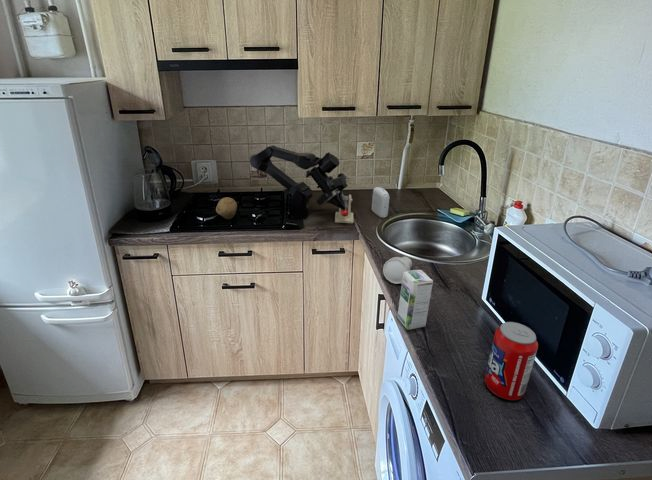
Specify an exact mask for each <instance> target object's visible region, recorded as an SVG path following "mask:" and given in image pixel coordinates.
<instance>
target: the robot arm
mask: <svg viewBox="0 0 652 480" xmlns="http://www.w3.org/2000/svg"><path fill="white" fill-rule="evenodd" d="M272 157H273V158H277V159H280V160H284V161H287V162H289V163H293V164H294V165H295V166H296V167H298V168H300V169H302V170H305V171H306V174H305V178H309V177H311V178H312V180H313V181H314V182H315V184H317V185H316V188H317V189H320V190H321V192H323V193H322V194H321V195H320V196H318V197H317V198H316V203H317V204H318V205H319V206H321V205H323V204H324V203H325V202H326V203H327V204H328V203H329V204H331V205H333V206H335V207H337V208H338V209H339V208H341V210H345V209H346V210H347V206H346V207H345V204H344V201H343V192H344V189H346V188H347V187H348V186H349V185H348V184H347V178H348V177H347V176H346V174H344V172H340V173H338V174H337V177H334V178H333V176H331V175H330V176H329V174H331V173H332V172H333V171H334V170H335V169H336V168H337V167H339V166H340V160H339V158H338V157H337V156H335V155H334V154H332V153H331V152H326V153H325V154H324V155H323V156H322V157H319V156H316V155H315V154H314V153H311V152H295V151H293V150H289V149H287V148H286V149H285V148H282V147H279V146H276V145H273V144H272V145H269V146H266V147H265V148H264V149H263V150H261V151H260V152H258V153H256V154H253V155H251V156H250V158H249V164H250V166H251V167H252V168H253V169H256V170H258V171H260V172H264V173H265V174H267V175H269V177H271V178H272V179H273V180H275V181H276V182H278V184H280V185H281V186H282V187H284V188H285V189H286V190H288V192H289V193H290V196H291V197H292V198H290V200H289V205H290V206H291V217H290V218H291V219H292V220H307V217H309V206H308V202H310V199H312V197H313V190H312V189H311V186H310V185H307V184H306V182H305V181H301V182H296V181H295V180H294V179H293V178H291V176H289V175H288V174H286V173H285V172H284V171H282V170H281V169H280V168H278V167H277V166H276V165H275V164H274V163H273V162H272V159H271V158H272Z"/></svg>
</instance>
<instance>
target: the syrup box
mask: <svg viewBox="0 0 652 480" xmlns="http://www.w3.org/2000/svg"><path fill="white" fill-rule="evenodd" d="M433 285H434V280H433V279H432V278H430V276H429V275H428V274H427V273H426V272H425V271H424V270H423V269H413V270H411V271H406V272H403V279H402V283H401V288H400V293H399V294H400V295H399V302H398V309H397V314H396V315H397V316H396V317H397V319H398V320H399V322H400V323H401V324H402V325H403V327H404V328H405V329H406V331H410V330H415V329H421V328H426V326H427V320H428V314H429V308H430V303H431V302H430V301H431V297H432V290H433Z"/></svg>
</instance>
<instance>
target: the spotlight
mask: <svg viewBox="0 0 652 480" xmlns="http://www.w3.org/2000/svg"><path fill="white" fill-rule="evenodd" d="M412 267H413V261H412V259H410V258H409V257H408V256H401V257H400V256H393V257H391V258H390V259H388V260H387V261H385V263H384V264H383V268H382V272H383V276H384V278H385V279H386V280H387V281H388V282H390V284H395V285H398V284H402V279H403V272H406V271H412V270H411V268H412Z"/></svg>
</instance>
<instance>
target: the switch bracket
mask: <svg viewBox="0 0 652 480" xmlns="http://www.w3.org/2000/svg"><path fill="white" fill-rule="evenodd" d="M352 202H353V198H352V194H348V204H347V211H348V215H347V216H346V217H344V216H342V214H341V212H342V209H341V208H339V207H338V211H335V214H334V223H342V224H354V212H351V211H352V210H351V209H352Z"/></svg>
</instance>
